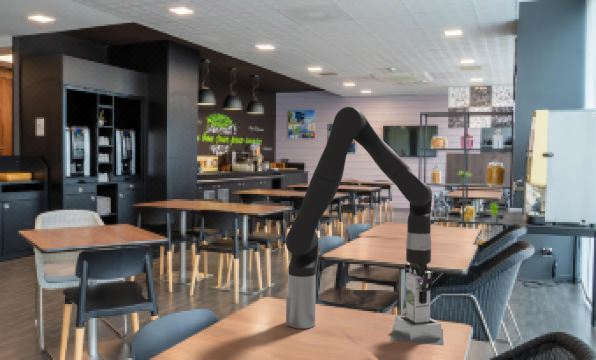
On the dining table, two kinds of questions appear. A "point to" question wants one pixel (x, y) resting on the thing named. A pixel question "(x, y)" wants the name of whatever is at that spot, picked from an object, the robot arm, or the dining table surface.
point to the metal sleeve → (417, 329)
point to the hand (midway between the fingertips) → (417, 300)
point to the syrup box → (416, 300)
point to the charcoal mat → (397, 337)
